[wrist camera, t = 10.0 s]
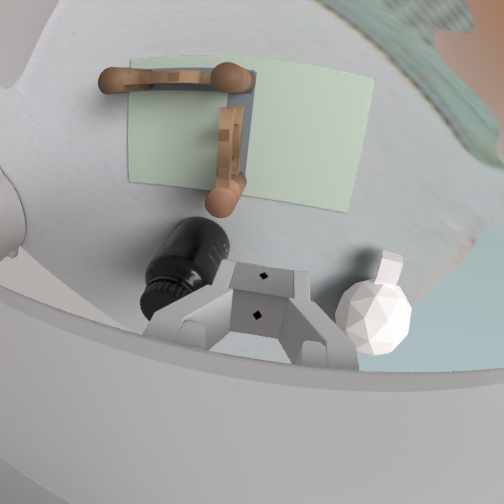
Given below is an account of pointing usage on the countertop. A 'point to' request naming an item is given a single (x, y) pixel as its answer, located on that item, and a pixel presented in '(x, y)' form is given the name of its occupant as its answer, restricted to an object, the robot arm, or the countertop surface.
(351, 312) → the perfume bottle
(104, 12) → the countertop surface
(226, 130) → the fence gate
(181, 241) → the supplement bottle
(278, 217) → the countertop surface
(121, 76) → the fence fixed
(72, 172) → the countertop surface
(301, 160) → the mat
